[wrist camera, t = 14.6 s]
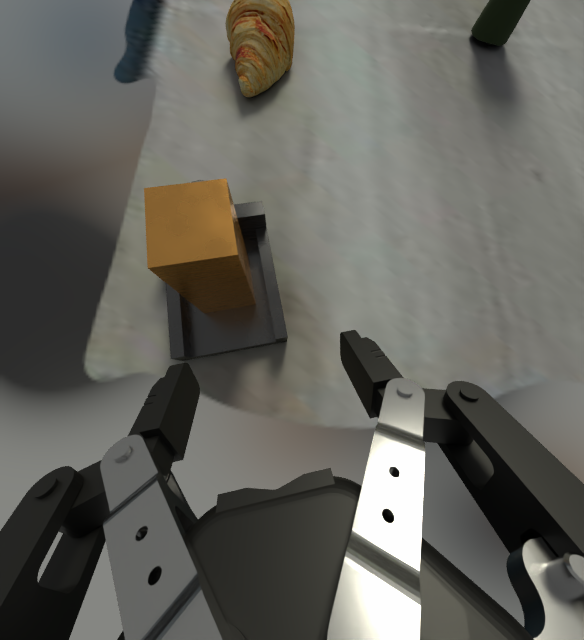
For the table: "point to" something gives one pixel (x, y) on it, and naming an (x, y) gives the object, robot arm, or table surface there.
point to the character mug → (498, 20)
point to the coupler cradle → (237, 323)
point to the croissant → (260, 42)
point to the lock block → (198, 244)
